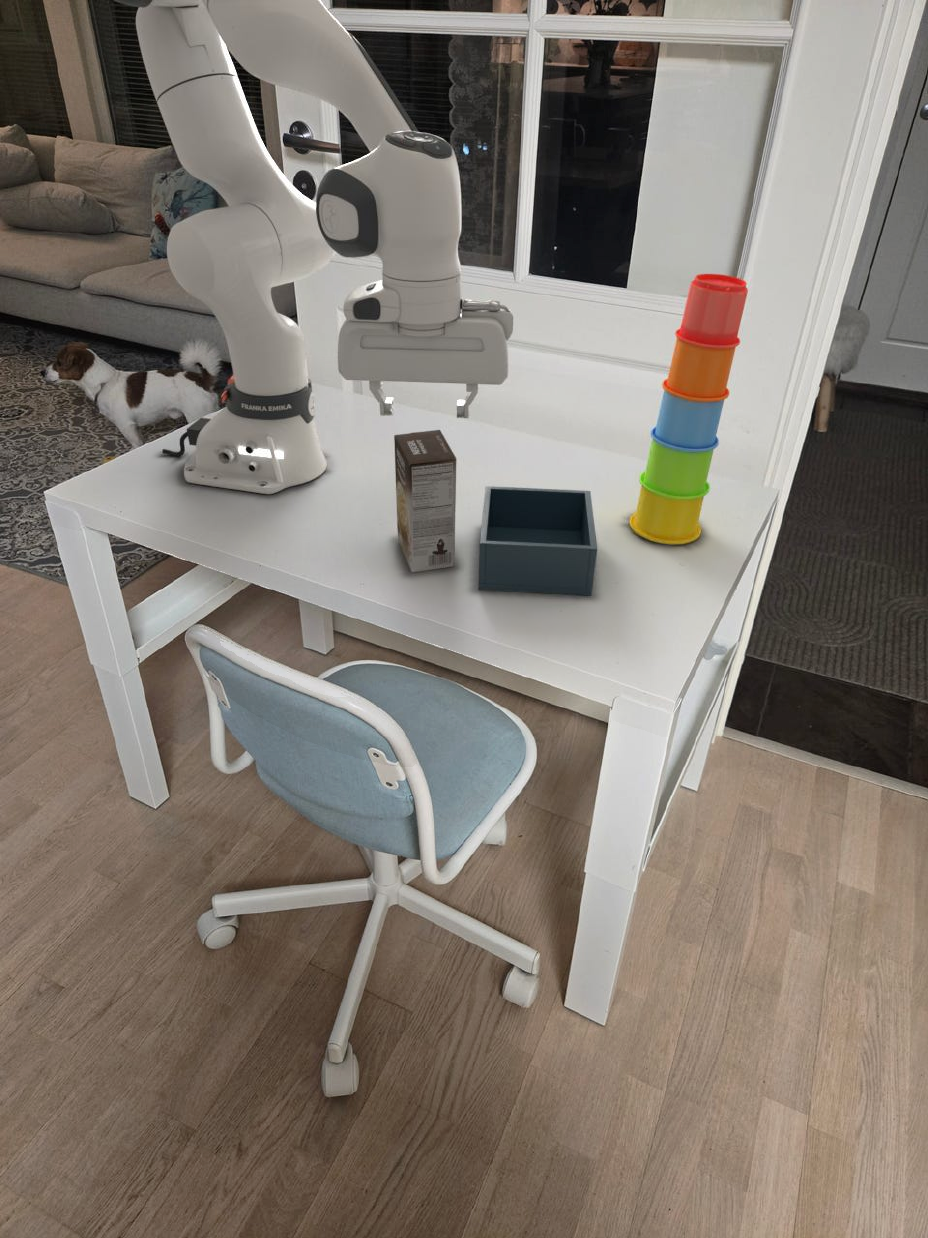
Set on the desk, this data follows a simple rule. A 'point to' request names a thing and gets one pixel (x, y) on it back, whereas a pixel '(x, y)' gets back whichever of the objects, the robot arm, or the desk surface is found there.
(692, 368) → the stacking cups
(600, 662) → the desk surface
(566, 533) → the open square box
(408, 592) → the desk surface
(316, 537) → the desk surface
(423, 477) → the coffee box
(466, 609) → the desk surface
